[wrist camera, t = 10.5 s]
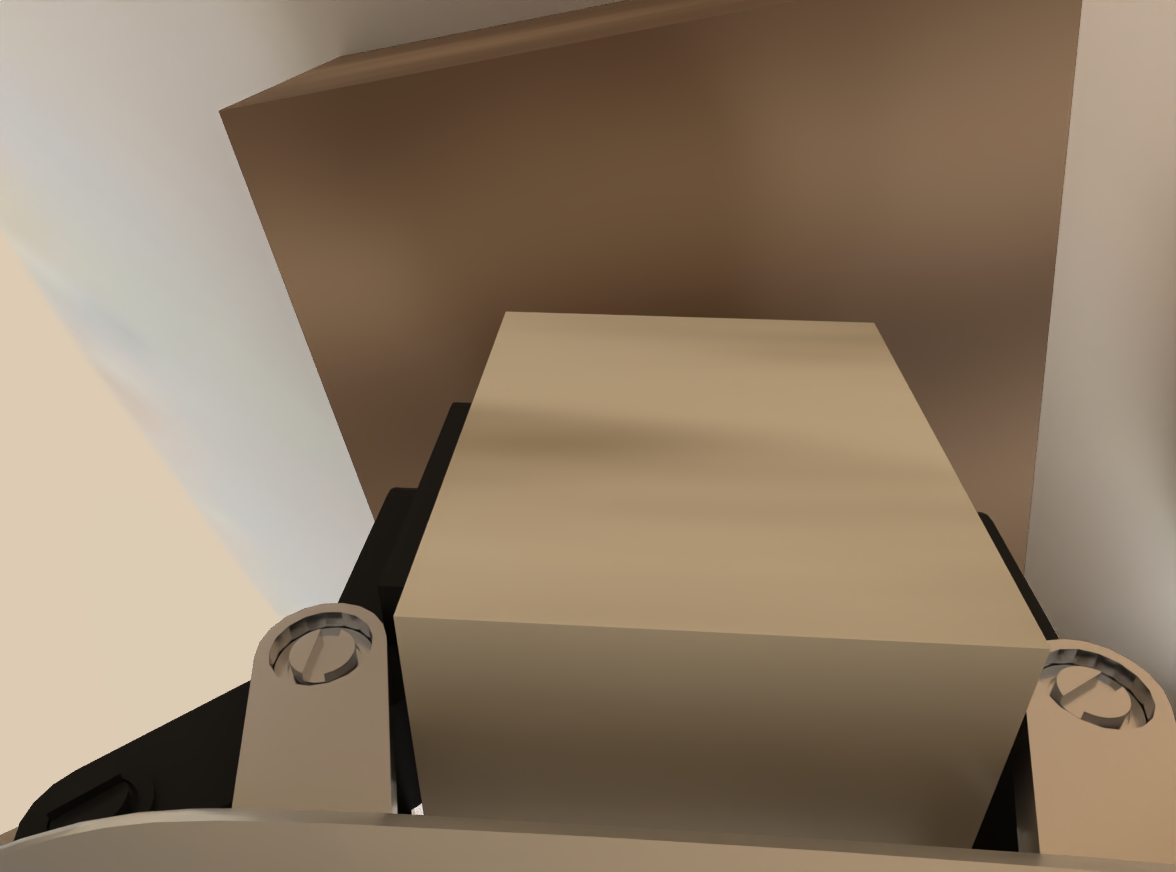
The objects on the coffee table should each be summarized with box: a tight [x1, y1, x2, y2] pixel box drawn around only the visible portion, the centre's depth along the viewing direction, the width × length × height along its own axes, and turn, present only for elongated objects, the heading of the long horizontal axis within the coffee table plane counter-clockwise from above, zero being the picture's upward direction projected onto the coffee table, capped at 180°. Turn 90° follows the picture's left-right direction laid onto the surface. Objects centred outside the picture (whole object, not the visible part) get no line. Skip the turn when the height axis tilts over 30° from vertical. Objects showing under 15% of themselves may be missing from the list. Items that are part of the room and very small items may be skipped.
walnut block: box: [219, 0, 1082, 576], centre depth 17 cm, size 12×12×6 cm
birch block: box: [393, 312, 1051, 849], centre depth 10 cm, size 5×5×6 cm
